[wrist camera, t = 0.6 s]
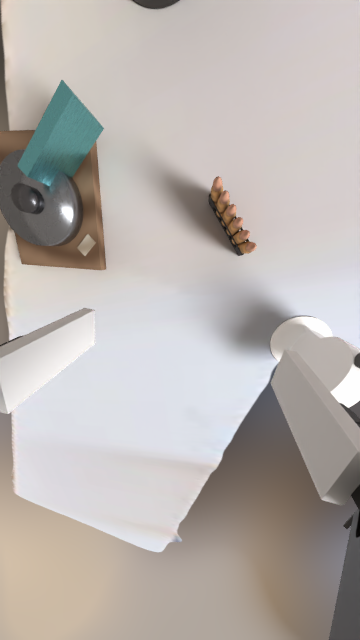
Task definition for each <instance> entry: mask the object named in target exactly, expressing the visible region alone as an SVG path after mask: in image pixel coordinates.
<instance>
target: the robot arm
mask: <svg viewBox="0 0 360 640" xmlns="http://www.w3.org/2000/svg"><path fill="white" fill-rule="evenodd" d="M134 1H135V2H137V3H138V4H140V5H143V6H145V7H149V8H163V7H167V6H170V5H172V4H174V3H176V2H177V1H179V0H134ZM94 344H95V310H92V309H87V308H83V309H81V310H79V311H77V312H75V313H72V314H70V315H68V316H66V317H64V318H62V319H59V320H57V321H55V322H53V323H51V324H48V325H46V326H44V327H42V328H40V329H38V330H35V331H33V332H31V333H29V334H27V335H24V336H20V337H17V338H15V339H13V340H10V341H9V342H8V343H7V342H6V343H4V344H2V345H0V412H2V413H6V414H9V413H10V412H11V411H13V410H14V409H15V408H16V407H17V406H19V405H20V404H21V403H22V402H24V401H25V400H26V399H27V398H29V397H30V396H31V395H32V394H34V393H35V392H36V391H37V390H39V389H40V388H41V387H42V386H44V385H45V384H46V383H47V382H48V381H50V380H51V379H52V378H53V377H55V376H56V375H57V374H58V373H60V372H61V371H62V370H63V369H65V368H66V367H67V366H68V365H70V364H71V363H72V362H73V361H75V360H76V359H77V358H78V357H79V356H81V355H82V354H83V353H84V352H86V351H87V350H88V349H89V348H91V347H92V346H93V345H94ZM271 385H272V388H273V390H274V392H275V394H276V397H277V398H278V401H279V404H280V406H281V408H282V411H283V413H284V415H285V417H286V420H287V422H288V424H289V426H290V429H291V431H292V433H293V436H294V438H295V440H296V443H297V445H298V447H299V450H300V452H301V454H302V456H303V459H304V461H305V463H306V466H307V468H308V470H309V472H310V475H311V477H312V479H313V482H314V484H315V486H316V489H317V491H318V493H319V496H320V498H321V500H324V501H327V502H331V503H335V504H339V505H344V504H345V503H346V502H347V501H348V499H349V498H350V497H351V496H352V498H353V500H354V501H355V503H356V505H357V507H358V509H357V511H356V512H355V513H354V514H353V515H352V516H351V517H350V518H349V519H348V520H347V521H346V523H345V524H344V527H345V528H346V529H348V528H349V527H350V526H351V530H350V535H349V540H348V545H347V551H346V556H345V560H344V566H343V571H342V576H341V581H340V586H339V591H338V596H337V601H336V606H335V611H334V617H333V621H332V626H331V632H330V637H329V640H360V419H359V418H358V417H357V416H356V414H355V413H354V412H352V411H351V410H350V409H349V408H347V407H346V406H345V405H344V404H342V403H339V402H338V401H337V400H336V399H335V397H334V396H333V395H332V394H331V392H330V391H329V390H328V389H327V388H326V386H325V385H324V384H323V383H322V382H321V380H320V379H319V378H318V377H317V376H316V374H315V373H314V372H313V371H312V369H311V368H310V367H309V366H308V365H307V363H306V362H305V361H304V360H303V359H302V357H301V356H300V355H299V354H298V352H296V351H291V350H286V349H285V350H284V352H283V354H282V357H281V359H280V362H279V364H278V366H277V369H276V371H275V374H274V376H273V379H272V381H271Z"/></svg>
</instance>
